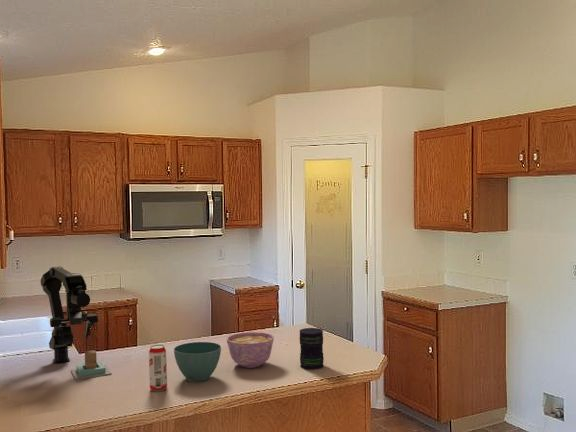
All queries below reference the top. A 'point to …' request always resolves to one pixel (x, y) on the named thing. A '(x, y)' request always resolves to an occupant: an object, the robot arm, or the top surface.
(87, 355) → the walnut peg
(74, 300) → the robot arm
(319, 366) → the storage jar
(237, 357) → the bowl of food
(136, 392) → the top surface
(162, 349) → the beer can
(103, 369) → the socket block
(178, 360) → the teal bowl
